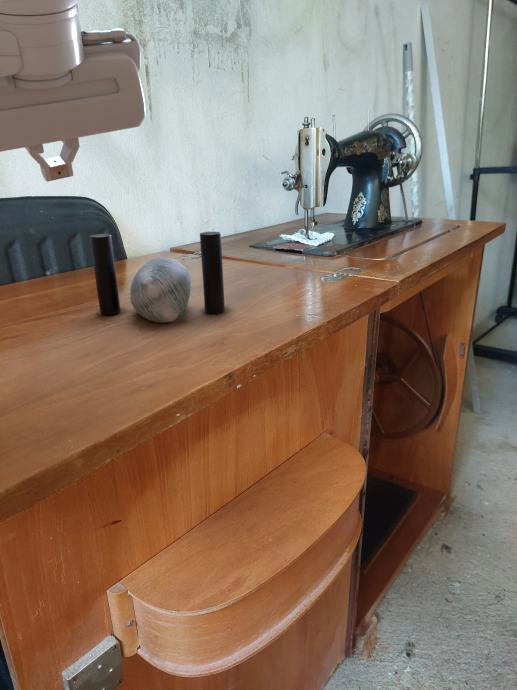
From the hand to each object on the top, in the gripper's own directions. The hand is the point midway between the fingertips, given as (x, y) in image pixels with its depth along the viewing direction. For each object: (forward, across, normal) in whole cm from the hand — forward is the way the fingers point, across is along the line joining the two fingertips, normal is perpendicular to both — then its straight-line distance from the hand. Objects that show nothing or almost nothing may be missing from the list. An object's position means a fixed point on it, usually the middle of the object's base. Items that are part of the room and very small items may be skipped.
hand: (58, 176), depth 56 cm
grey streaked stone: (+25, -11, +2) cm, 27 cm away
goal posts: (+25, -11, +2) cm, 27 cm away
